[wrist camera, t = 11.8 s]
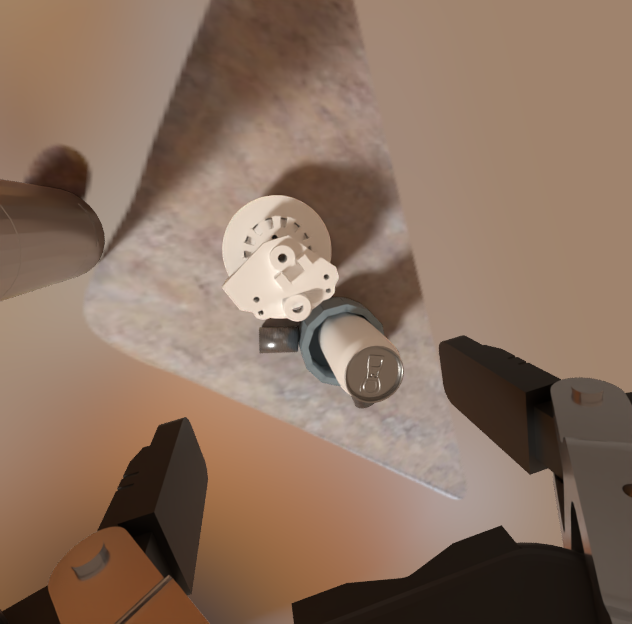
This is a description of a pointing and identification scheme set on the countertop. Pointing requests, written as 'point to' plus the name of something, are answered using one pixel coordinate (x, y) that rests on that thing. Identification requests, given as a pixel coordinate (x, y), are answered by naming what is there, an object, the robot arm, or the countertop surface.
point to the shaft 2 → (361, 403)
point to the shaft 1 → (278, 339)
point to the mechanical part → (278, 259)
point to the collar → (310, 331)
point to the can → (360, 357)
